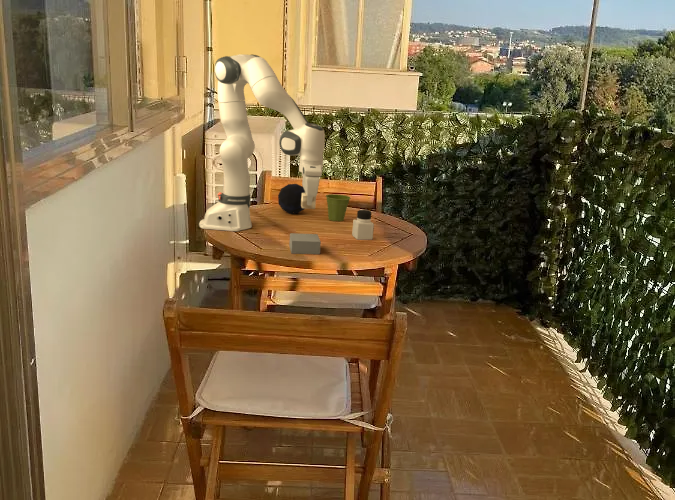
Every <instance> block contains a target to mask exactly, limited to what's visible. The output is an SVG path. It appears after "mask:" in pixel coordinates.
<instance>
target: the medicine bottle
mask: <svg viewBox="0 0 675 500" xmlns="http://www.w3.org/2000/svg"><path fill="white" fill-rule="evenodd" d="M374 229H375V223H373V222H372V211H370V210H368V209H359V210H357V215H356V219H353V222H352V231H351V232H352V233H351V235H352V237H353V238H355V239H356V240H358V241H359V240H360V241H361V240H362V241H363V240H366V241H367V240H368V241H369V240H370V241H371V240H373V238H374Z"/></svg>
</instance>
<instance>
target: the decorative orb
mask: <svg viewBox="0 0 675 500" xmlns="http://www.w3.org/2000/svg"><path fill="white" fill-rule="evenodd" d="M302 193H305V190H304V188H303V186H302V185H300V184H298V183H288V184H286V185H285V186H283V187H282V188H281V189H280V190H279V192H278V196H277V197H278V199H277V201H278V205H279V206H280V208H281V209H282V211H283V212H286V213H288V214H290V215H294V214H299V213H301V212H303V211H304V210H305V209H304V208H302V207H301V197H302Z"/></svg>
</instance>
